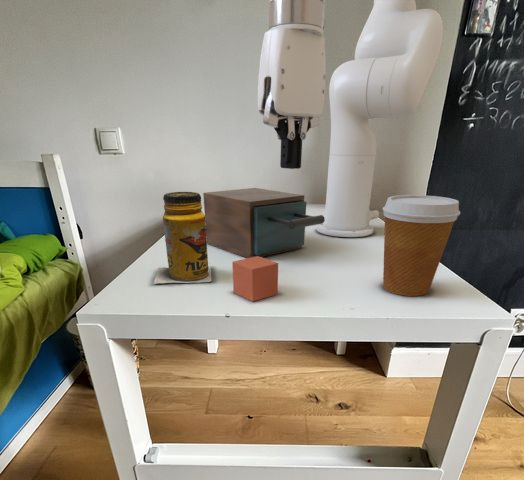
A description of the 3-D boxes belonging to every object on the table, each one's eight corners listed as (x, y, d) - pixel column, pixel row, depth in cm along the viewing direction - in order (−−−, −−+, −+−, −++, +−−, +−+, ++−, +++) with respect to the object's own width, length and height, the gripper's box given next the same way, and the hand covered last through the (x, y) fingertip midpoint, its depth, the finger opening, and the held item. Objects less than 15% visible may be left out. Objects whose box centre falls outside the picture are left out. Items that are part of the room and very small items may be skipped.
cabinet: (301, 247, 75) (304, 195, 71) (250, 259, 68) (249, 201, 64) (255, 234, 85) (255, 187, 80) (206, 243, 78) (203, 192, 74)
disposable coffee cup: (358, 281, 58) (369, 196, 52) (411, 274, 61) (427, 193, 55) (398, 304, 50) (416, 207, 44) (456, 295, 53) (480, 203, 47)
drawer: (330, 252, 69) (334, 206, 65) (283, 263, 63) (284, 213, 59) (259, 232, 83) (259, 193, 79) (215, 240, 77) (212, 198, 73)
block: (258, 285, 56) (257, 255, 54) (277, 294, 53) (278, 262, 51) (233, 292, 54) (232, 261, 52) (252, 301, 51) (252, 269, 49)
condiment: (211, 282, 58) (206, 196, 52) (153, 284, 57) (141, 197, 51) (210, 267, 64) (205, 189, 58) (158, 269, 63) (147, 190, 57)
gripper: (314, 35, 60) (306, 165, 69) (236, 18, 52) (239, 168, 61) (352, 26, 55) (338, 168, 64) (272, 5, 47) (270, 171, 56)
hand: (290, 167), depth 62 cm, fingers closed
